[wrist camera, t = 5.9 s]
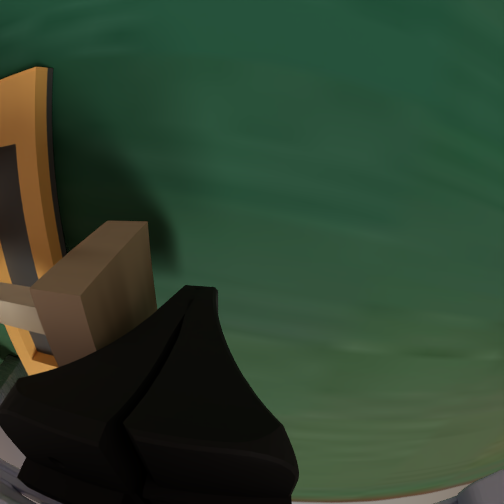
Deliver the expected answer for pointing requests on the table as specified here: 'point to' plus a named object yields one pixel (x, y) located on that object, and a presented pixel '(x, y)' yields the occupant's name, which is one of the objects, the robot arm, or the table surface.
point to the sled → (88, 293)
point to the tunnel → (10, 374)
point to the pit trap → (28, 198)
